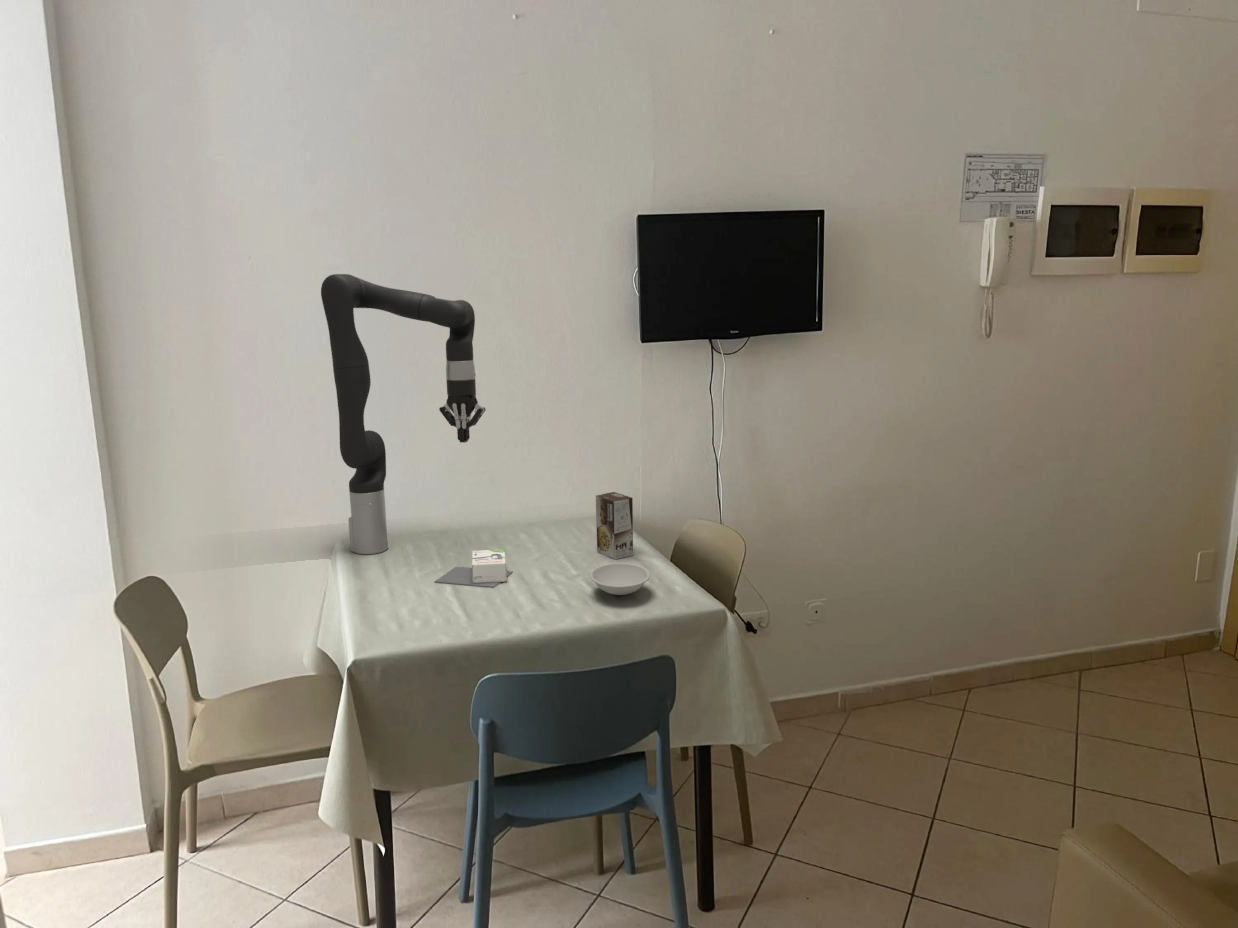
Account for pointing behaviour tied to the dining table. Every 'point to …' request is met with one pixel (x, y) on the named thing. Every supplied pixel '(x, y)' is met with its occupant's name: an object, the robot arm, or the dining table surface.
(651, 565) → the dining table surface
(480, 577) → the ink box
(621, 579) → the dish
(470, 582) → the mat
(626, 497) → the coffee box
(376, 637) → the dining table surface
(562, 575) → the dining table surface
